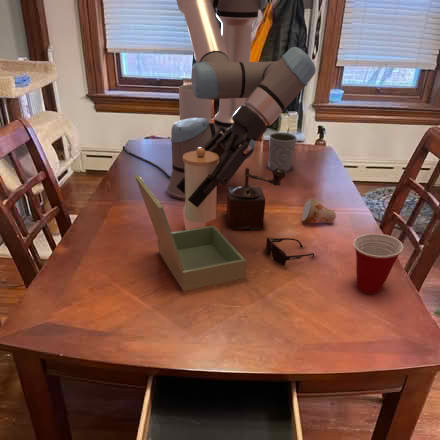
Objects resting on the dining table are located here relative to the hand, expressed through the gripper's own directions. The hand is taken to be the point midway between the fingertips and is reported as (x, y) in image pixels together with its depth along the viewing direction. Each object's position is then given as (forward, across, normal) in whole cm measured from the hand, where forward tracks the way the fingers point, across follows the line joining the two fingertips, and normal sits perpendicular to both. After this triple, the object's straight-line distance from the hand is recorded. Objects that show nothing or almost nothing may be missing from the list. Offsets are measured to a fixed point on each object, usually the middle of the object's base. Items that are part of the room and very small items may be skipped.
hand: (186, 196), depth 103 cm
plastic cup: (-13, -22, -40) cm, 48 cm away
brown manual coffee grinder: (-5, +19, -33) cm, 39 cm away
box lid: (+8, +1, +1) cm, 8 cm away
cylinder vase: (-10, +86, -39) cm, 95 cm away
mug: (-19, +12, -47) cm, 52 cm away
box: (+11, 0, -16) cm, 20 cm away
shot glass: (+7, +20, -21) cm, 30 cm away
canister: (+1, 0, -6) cm, 6 cm away
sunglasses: (-5, -3, -33) cm, 34 cm away
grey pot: (-27, +58, -56) cm, 85 cm away
